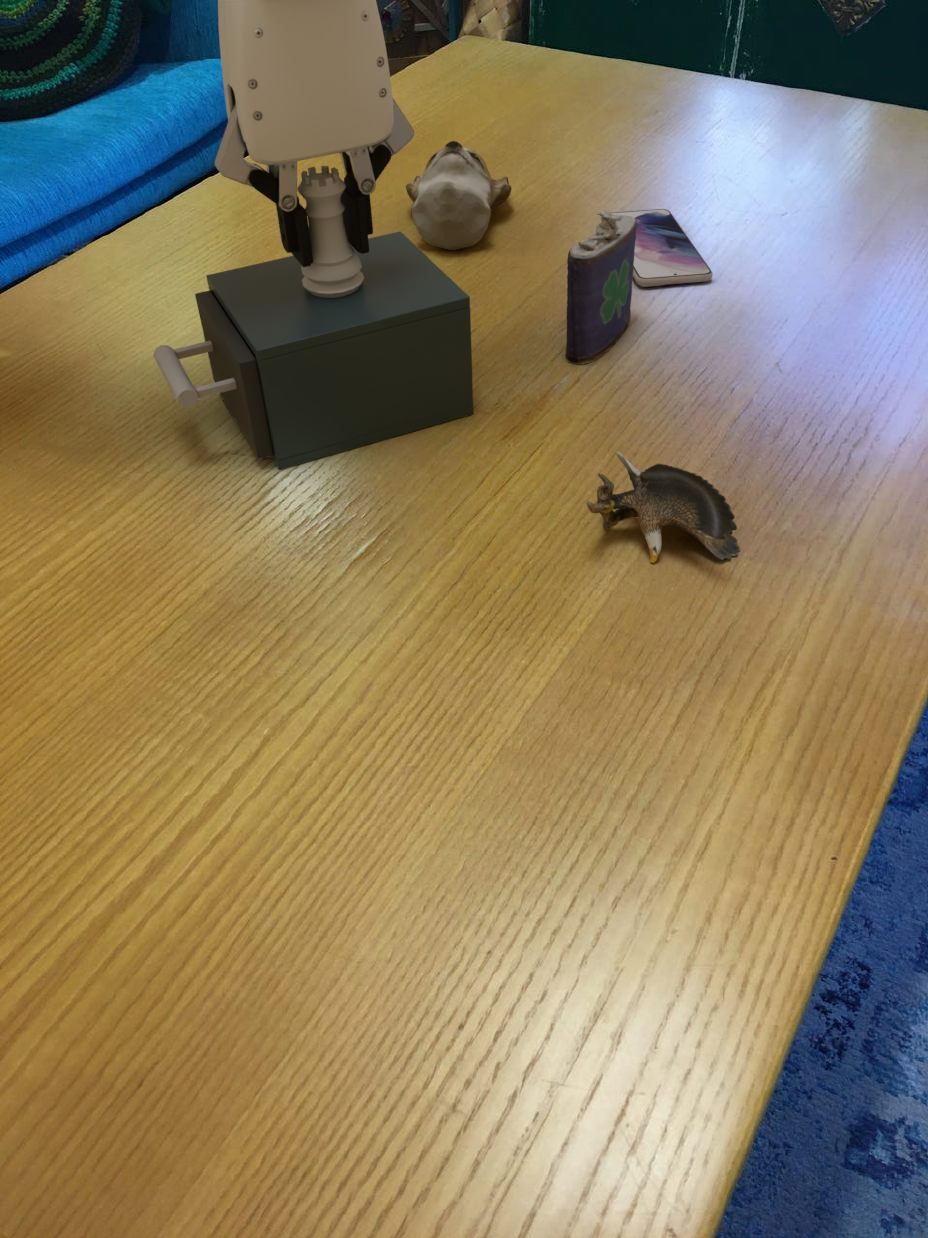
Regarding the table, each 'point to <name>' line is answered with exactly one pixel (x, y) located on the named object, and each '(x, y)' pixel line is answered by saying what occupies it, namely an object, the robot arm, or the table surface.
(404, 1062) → the table surface
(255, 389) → the drawer
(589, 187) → the table surface
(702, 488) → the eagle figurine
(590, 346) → the flask
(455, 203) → the ceramic sculpture
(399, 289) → the cabinet
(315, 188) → the rook chess piece
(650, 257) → the smartphone
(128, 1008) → the table surface
